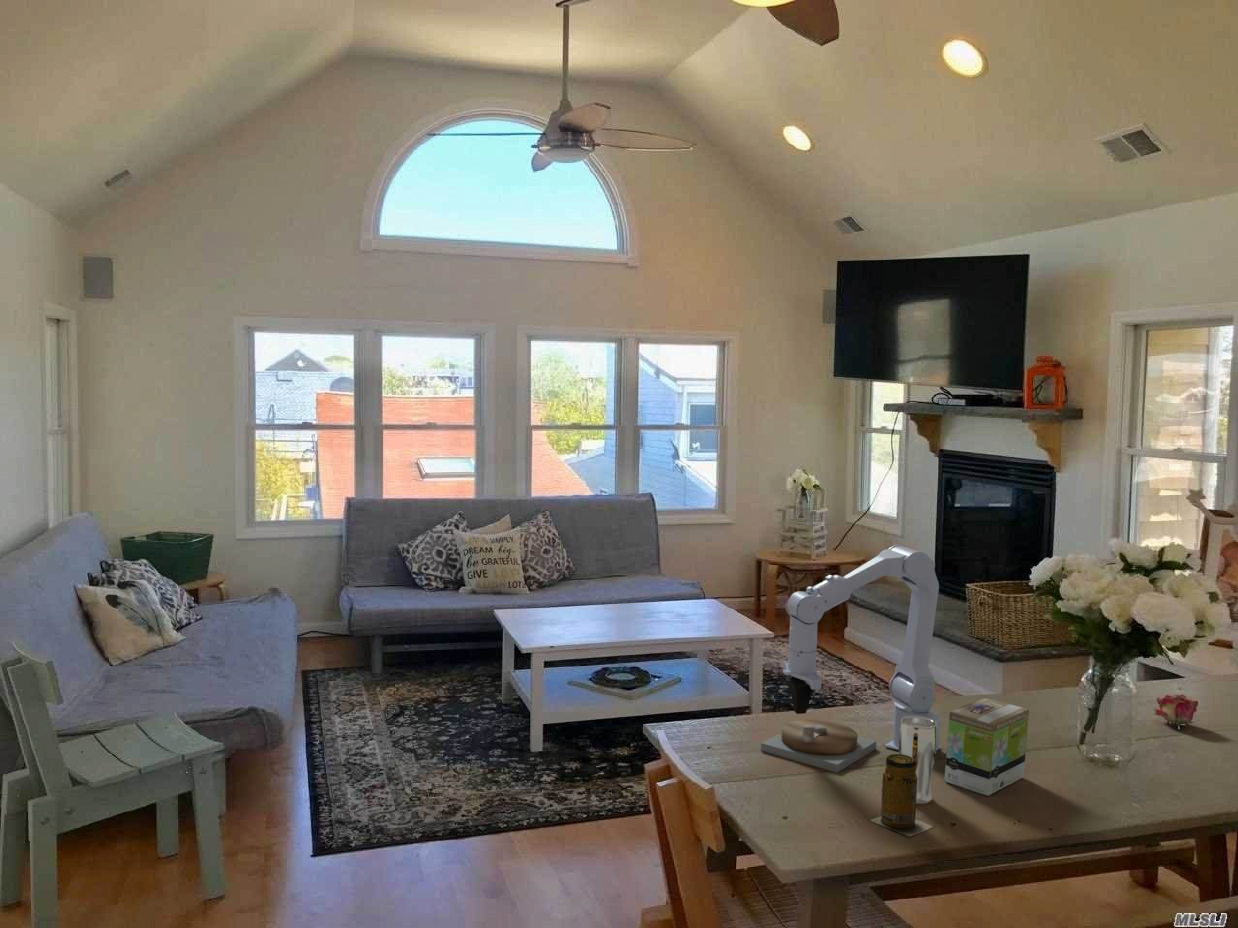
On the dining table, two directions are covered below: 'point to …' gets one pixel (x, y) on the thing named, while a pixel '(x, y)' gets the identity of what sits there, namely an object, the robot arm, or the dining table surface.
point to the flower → (1176, 709)
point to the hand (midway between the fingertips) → (800, 712)
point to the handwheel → (819, 737)
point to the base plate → (821, 761)
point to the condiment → (900, 796)
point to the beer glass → (920, 751)
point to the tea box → (986, 745)
